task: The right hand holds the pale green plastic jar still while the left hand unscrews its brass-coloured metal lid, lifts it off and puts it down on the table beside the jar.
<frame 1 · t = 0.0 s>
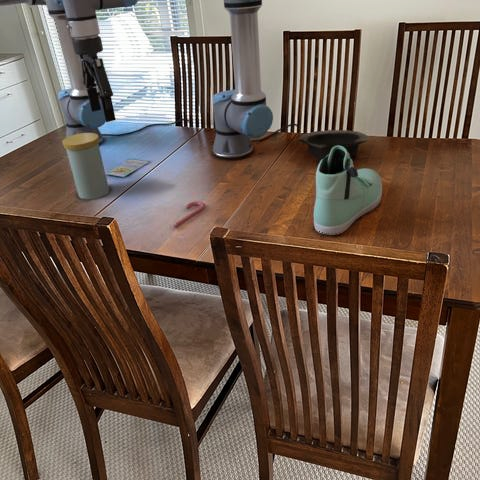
right hand: (103, 115, 139), 28 cm above the table, tool pointing down, fingers open, 13 cm apart
baking ingredient package: (127, 168, 177), on the table
candy cane: (188, 216, 142), on the table
sneaker: (348, 208, 139), on the table
jar: (93, 192, 161), on the table
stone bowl: (332, 156, 174), on the table
lid: (80, 139, 151), point 18 cm above the table, screwed on, not yet turned
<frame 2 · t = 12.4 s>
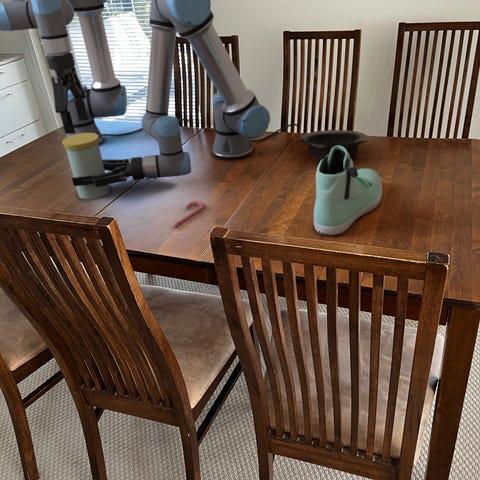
left hand: (77, 126, 149), 23 cm above the table, tool pointing down, fingers open, 12 cm apart
right hand: (76, 175, 157), 7 cm above the table, tool horizontal, fingers closed on jar, 10 cm apart
jar: (94, 192, 161), on the table, touching right hand
everything else where it was.
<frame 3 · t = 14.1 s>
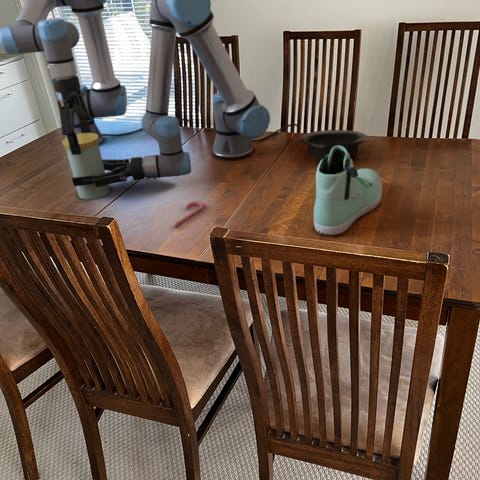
left hand: (82, 147, 153), 16 cm above the table, tool pointing down, fingers closed on lid, 11 cm apart
right hand: (76, 175, 157), 7 cm above the table, tool horizontal, fingers closed on jar, 10 cm apart
jar: (94, 192, 161), on the table, touching right hand
lid: (80, 139, 151), point 18 cm above the table, screwed on, not yet turned, touching left hand
everything else where it was.
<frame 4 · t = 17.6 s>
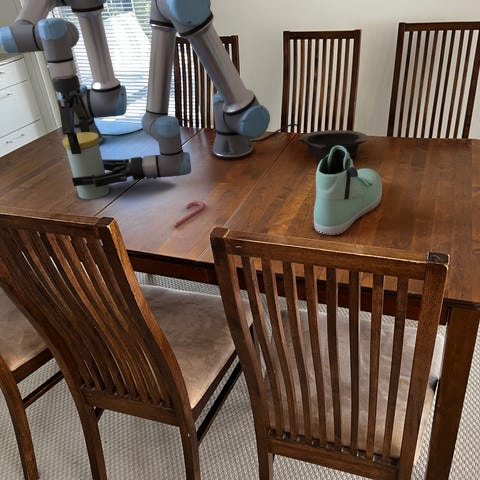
left hand: (82, 147, 153), 16 cm above the table, tool pointing down, fingers closed on lid, 11 cm apart
right hand: (76, 175, 157), 7 cm above the table, tool horizontal, fingers closed on jar, 10 cm apart
jar: (94, 192, 161), on the table, touching right hand
lid: (80, 139, 151), point 19 cm above the table, turned 139° so far, risen 0.2 cm, still on its thread, touching left hand
everything else where it was.
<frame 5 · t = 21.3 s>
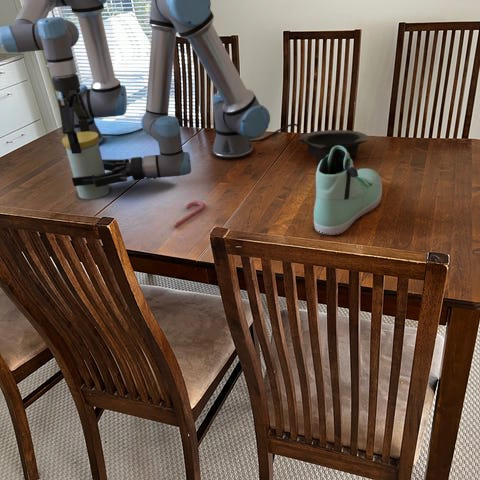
left hand: (82, 146, 152), 16 cm above the table, tool pointing down, fingers closed on lid, 11 cm apart
right hand: (76, 175, 157), 7 cm above the table, tool horizontal, fingers closed on jar, 10 cm apart
jar: (94, 192, 161), on the table, touching right hand
lid: (80, 138, 151), point 19 cm above the table, turned 279° so far, risen 0.4 cm, still on its thread, touching left hand
everything else where it was.
when the left hand's fingers open (0 cm above the table, at t = 32.3 s): lid drops 2 cm, point 1 cm above the table.
when the right hand's fingers open (7 cm above the table, at t = 33.3 s): jar stays where it is, on the table.
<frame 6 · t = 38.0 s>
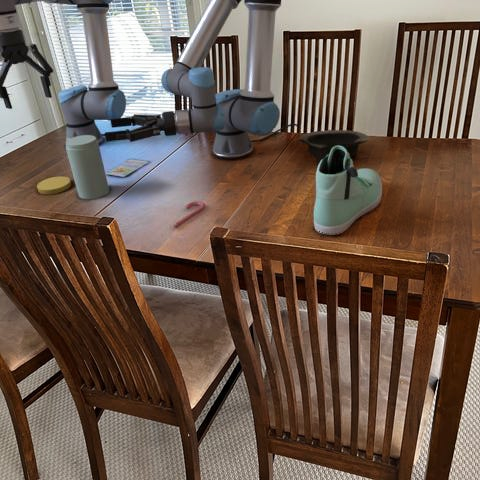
left hand: (29, 102, 152), 30 cm above the table, tool pointing down, fingers open, 13 cm apart
right hand: (108, 129, 151), 21 cm above the table, tool horizontal, fingers open, 13 cm apart
jar: (94, 192, 161), on the table
lid: (53, 183, 166), point 1 cm above the table, off its thread
everything else where it was.
at the end: lid came off its thread; lid point 1.3 cm above the table; the left hand is holding nothing; the right hand is holding nothing; jar tilted 0°; jar moved 0.0 cm from its start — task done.
